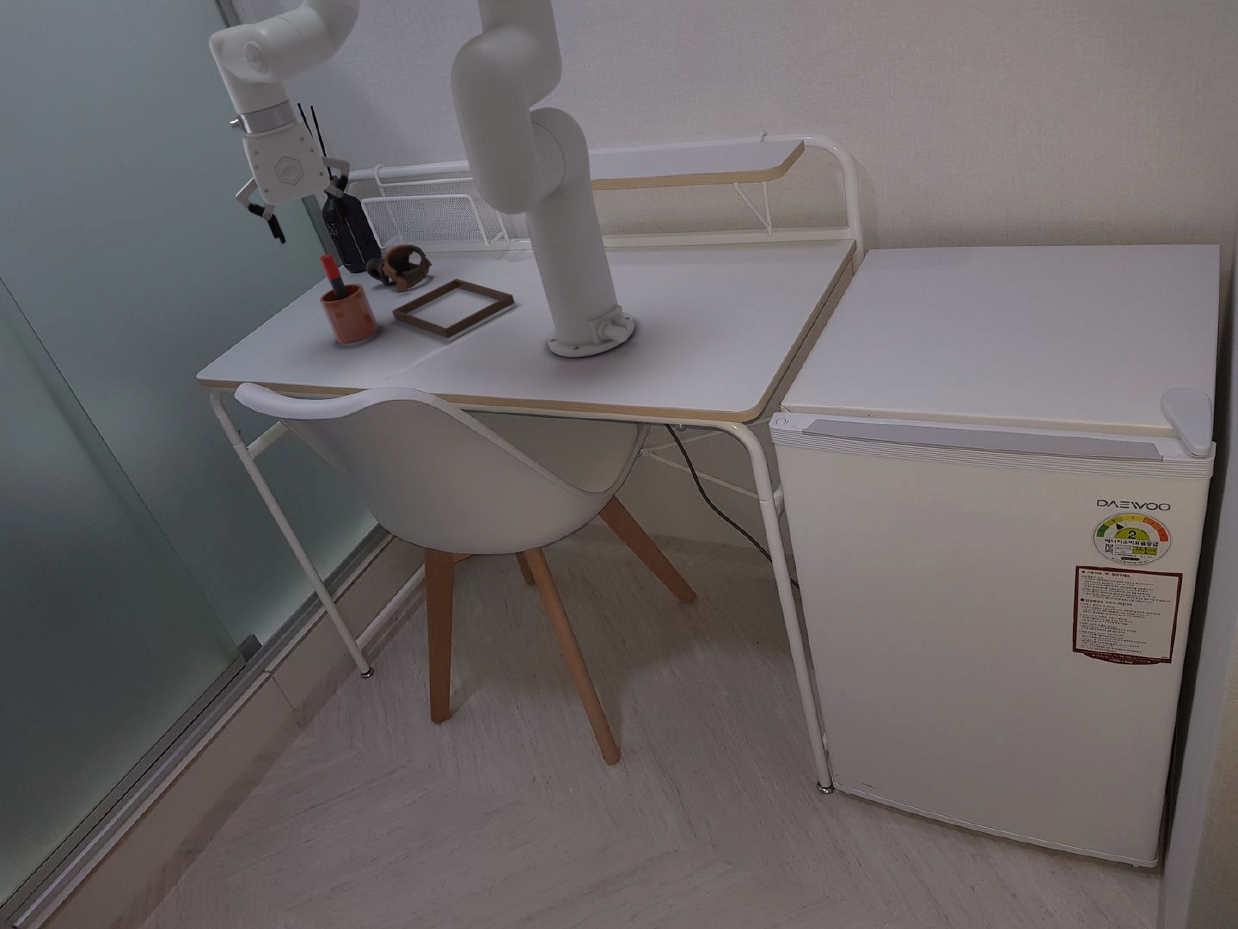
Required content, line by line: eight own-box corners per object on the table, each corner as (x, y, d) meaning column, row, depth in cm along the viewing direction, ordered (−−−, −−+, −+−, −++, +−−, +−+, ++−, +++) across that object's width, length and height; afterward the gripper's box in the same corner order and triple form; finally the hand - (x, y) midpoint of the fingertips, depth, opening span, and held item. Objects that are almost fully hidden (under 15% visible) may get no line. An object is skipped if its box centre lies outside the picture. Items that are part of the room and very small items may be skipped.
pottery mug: (437, 270, 173) (432, 239, 165) (432, 310, 168) (427, 279, 161) (372, 268, 172) (364, 237, 165) (366, 308, 167) (357, 277, 160)
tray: (516, 306, 148) (512, 294, 147) (449, 342, 142) (444, 330, 141) (460, 289, 160) (456, 278, 159) (396, 322, 154) (391, 310, 153)
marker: (366, 331, 152) (334, 254, 144) (355, 336, 151) (322, 259, 143) (360, 328, 153) (328, 252, 146) (349, 334, 152) (317, 257, 145)
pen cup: (387, 332, 151) (369, 287, 147) (350, 350, 148) (331, 305, 144) (368, 324, 156) (350, 280, 152) (331, 342, 153) (312, 298, 149)
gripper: (208, 140, 128) (259, 255, 138) (329, 105, 132) (371, 220, 141) (208, 132, 134) (257, 242, 144) (324, 98, 138) (364, 208, 147)
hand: (314, 231), depth 142 cm, fingers open, 9 cm apart
